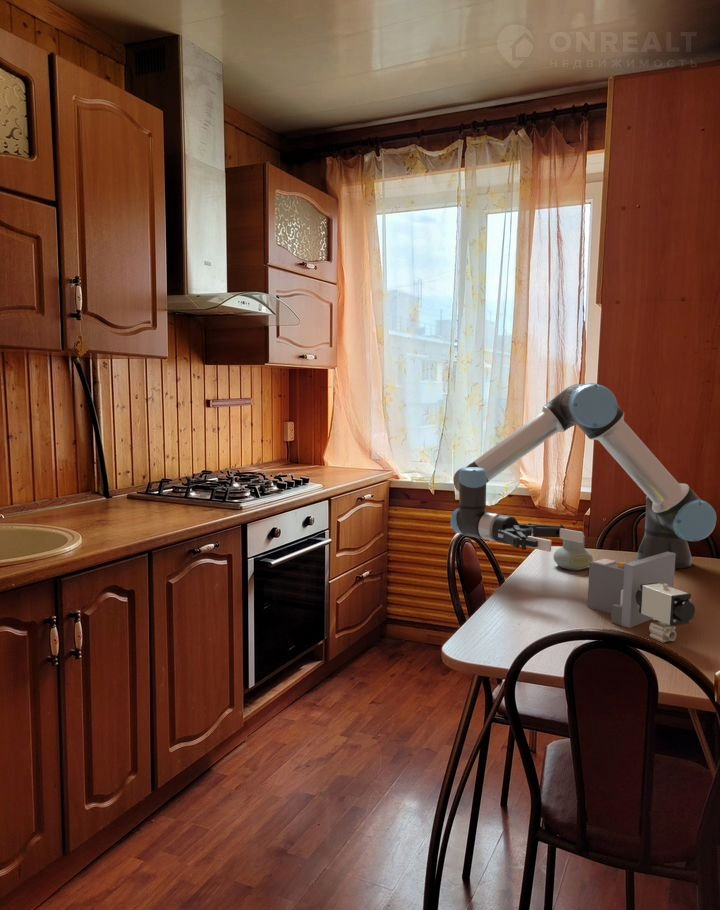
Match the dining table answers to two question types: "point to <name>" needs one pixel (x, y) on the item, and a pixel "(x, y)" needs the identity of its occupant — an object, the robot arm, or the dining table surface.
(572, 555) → the air freshener
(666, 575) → the rail panel
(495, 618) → the dining table surface
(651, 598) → the pneumatic valve
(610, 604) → the block
